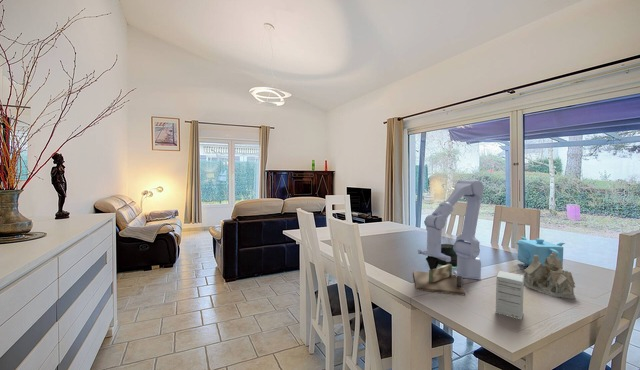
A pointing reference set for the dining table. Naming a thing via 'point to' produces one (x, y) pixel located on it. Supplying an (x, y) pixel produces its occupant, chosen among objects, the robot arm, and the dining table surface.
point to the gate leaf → (440, 273)
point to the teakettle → (537, 250)
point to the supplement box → (509, 294)
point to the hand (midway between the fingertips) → (433, 274)
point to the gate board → (439, 283)
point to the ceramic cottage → (549, 277)
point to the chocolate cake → (449, 251)
